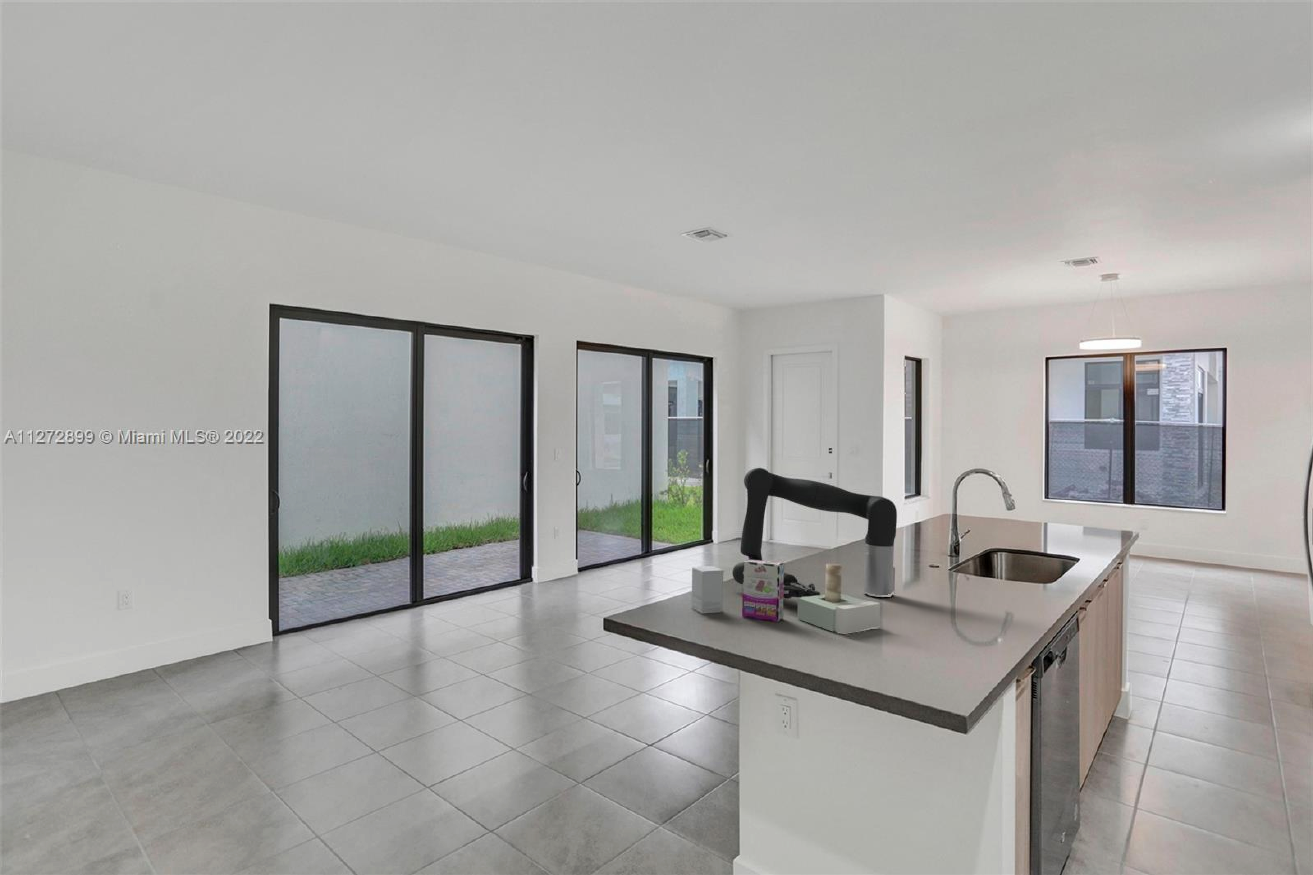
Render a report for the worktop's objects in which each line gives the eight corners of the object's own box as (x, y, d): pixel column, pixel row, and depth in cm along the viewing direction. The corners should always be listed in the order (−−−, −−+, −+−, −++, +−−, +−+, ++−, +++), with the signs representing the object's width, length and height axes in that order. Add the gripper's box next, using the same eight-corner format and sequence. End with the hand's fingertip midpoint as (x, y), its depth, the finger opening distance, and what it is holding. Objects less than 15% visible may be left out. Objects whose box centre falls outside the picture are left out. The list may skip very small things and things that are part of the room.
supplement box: (723, 612, 201) (724, 570, 201) (700, 614, 198) (702, 571, 198) (712, 606, 208) (713, 565, 208) (690, 608, 205) (691, 566, 205)
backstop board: (871, 625, 190) (871, 601, 190) (879, 628, 188) (880, 603, 188) (835, 632, 183) (835, 606, 183) (843, 635, 181) (844, 609, 181)
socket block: (837, 612, 203) (837, 592, 203) (873, 624, 191) (874, 603, 191) (797, 618, 195) (797, 597, 195) (832, 631, 183) (833, 609, 183)
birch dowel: (832, 610, 197) (834, 563, 197) (843, 614, 193) (845, 565, 193) (821, 612, 195) (822, 564, 194) (832, 616, 191) (833, 567, 191)
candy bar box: (783, 618, 196) (785, 562, 196) (778, 622, 191) (779, 565, 191) (747, 613, 201) (748, 558, 201) (741, 616, 196) (742, 560, 196)
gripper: (763, 573, 211) (801, 585, 196) (796, 570, 217) (835, 581, 202) (763, 597, 211) (800, 611, 196) (795, 593, 217) (834, 606, 202)
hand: (818, 596), depth 199 cm, fingers closed
